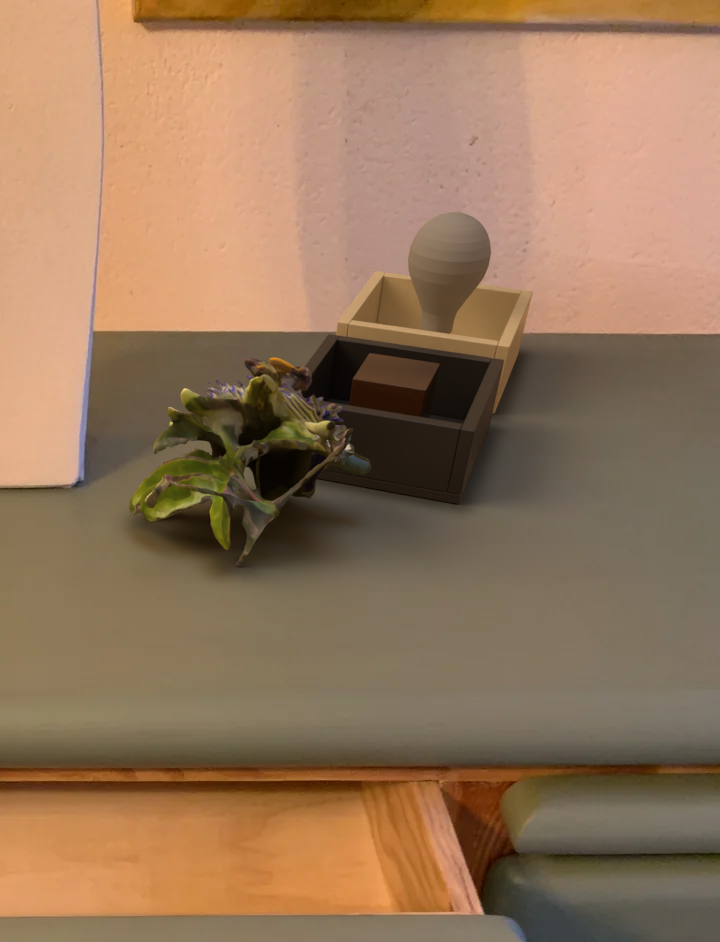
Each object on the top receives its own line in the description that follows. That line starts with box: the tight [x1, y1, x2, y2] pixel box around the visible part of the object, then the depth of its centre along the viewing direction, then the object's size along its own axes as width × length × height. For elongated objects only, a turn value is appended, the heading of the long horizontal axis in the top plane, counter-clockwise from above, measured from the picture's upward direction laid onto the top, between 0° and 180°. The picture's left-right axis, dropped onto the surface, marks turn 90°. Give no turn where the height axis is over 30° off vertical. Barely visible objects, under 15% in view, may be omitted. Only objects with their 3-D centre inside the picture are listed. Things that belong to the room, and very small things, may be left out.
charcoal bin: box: [301, 333, 504, 505], centre depth 73 cm, size 12×12×5 cm
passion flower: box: [128, 357, 371, 567], centre depth 64 cm, size 11×11×12 cm
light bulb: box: [407, 211, 492, 334], centre depth 80 cm, size 6×6×10 cm
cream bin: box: [335, 270, 533, 415], centre depth 83 cm, size 12×12×5 cm
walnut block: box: [349, 353, 439, 418], centre depth 73 cm, size 4×4×4 cm
